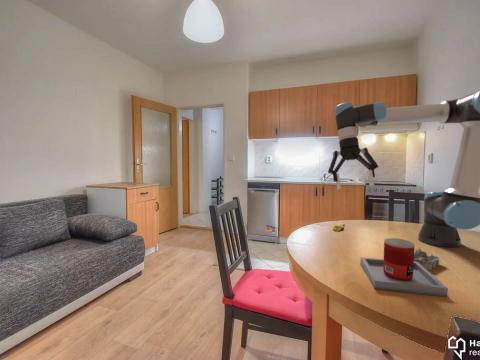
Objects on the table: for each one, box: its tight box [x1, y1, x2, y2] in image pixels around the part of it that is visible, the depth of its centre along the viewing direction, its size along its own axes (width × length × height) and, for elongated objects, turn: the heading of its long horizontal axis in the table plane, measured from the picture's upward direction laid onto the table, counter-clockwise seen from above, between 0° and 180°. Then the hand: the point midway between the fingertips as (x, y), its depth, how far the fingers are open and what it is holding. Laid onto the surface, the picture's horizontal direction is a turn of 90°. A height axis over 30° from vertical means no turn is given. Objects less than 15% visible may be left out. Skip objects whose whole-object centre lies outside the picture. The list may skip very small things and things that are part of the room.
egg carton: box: [414, 248, 442, 271], centre depth 87 cm, size 11×8×4 cm
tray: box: [359, 256, 449, 298], centre depth 77 cm, size 18×18×2 cm
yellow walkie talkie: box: [332, 224, 346, 232], centre depth 136 cm, size 5×2×15 cm
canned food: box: [383, 237, 415, 281], centre depth 77 cm, size 8×8×11 cm
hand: (355, 187), depth 103 cm, fingers open, 13 cm apart
